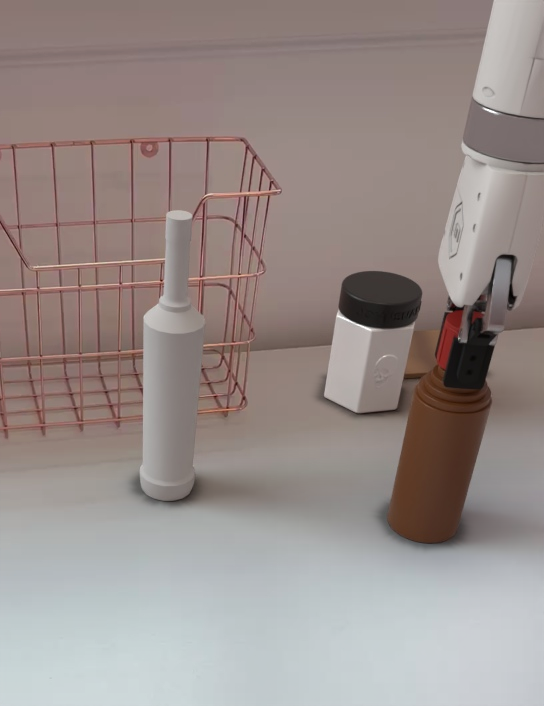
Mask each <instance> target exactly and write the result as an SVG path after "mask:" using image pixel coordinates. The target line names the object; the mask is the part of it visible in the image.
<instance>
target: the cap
mask: <svg viewBox="0 0 544 706" xmlns="http://www.w3.org/2000/svg"><path fill="white" fill-rule="evenodd" d="M450 312H451V313H449V314H448V315H447V316H446V320H445V323H444V325H443V330H442V334H441V338H440V343H439V347H438V351H437V356H436V357H437V364H438V365H439V366H440V367H441V368H443V369H444V370H445V369H446V365H447V361H448V357H449V353H450V349H451V345H452V341H453V337H456V338H458V334H459V329H460V324H461V320H462V315H463V310H459V311H454V312H453V311H450ZM484 314H485V313H484V312H482V313H479V312H475V311H474V314H473V318H472V322H473V321H474V320H475V319H476V318H482V316H484ZM471 324H472V323H471Z"/></svg>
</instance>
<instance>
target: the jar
mask: <svg viewBox="0 0 544 706" xmlns="http://www.w3.org/2000/svg"><path fill="white" fill-rule="evenodd" d="M338 298H339V300H338V310H337V313H336V316H335V321H334V328H333V334H332V341H331V348H330V354H329V361H328V365H327V372H326V373H327V374H326V380H325V386H324V393H323V396H324V398H325V399H327V400H328V401H330V402H333V403H335V404H336V405H339V406H341V407H343V408H345V409H347V410H349V411H351V412H353V413H354V414H355V413H356V414H367V413H376V412H377V413H378V412H386V411H395V410H397V408H398V406H399V401H400V396H401V393H402V388H403V383H404V380H405V379H404V374H405V369H406V364H407V360H408V355H409V350H410V345H411V341H412V336H413V331H415V326H416V321H417V319H418V318H419V317H418V316H419V313H420V311H421V306H422V302H423V301H422V298H423V290H422V287H421V286H420V285H419V284H418V283H417V282H416V281H414V280H413V279H411V278H409V277H406V276H404V275H401V274H398V273H394V272H389V271H382V270H364V271H357V272H354V273H352V274H349V275H347V276H346V277H345V278H344V279H343V280H342V282H341V287H340V293H339V297H338Z"/></svg>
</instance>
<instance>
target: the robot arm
mask: <svg viewBox="0 0 544 706" xmlns="http://www.w3.org/2000/svg"><path fill="white" fill-rule="evenodd" d="M488 19H489V21H488V25H487V28H486V33H485V38H484V43H483V47H482V52H481V56H480V60H479V65H478V69H477V73H476V77H475V82H474V86H473V91H472V95H471V99H470V104H469V108H468V113H467V117H466V121H465V126H464V130H463V135H462V140H461V144H460V150H461V153H463V154H464V155H465V158H464V160H463V162H462V166H461V169H460V173H459V176H458V180H457V183H456V187H455V190H454V194H453V198H452V201H451V204H450V208H449V212H448V215H447V220H446V223H445V227H444V231H443V235H442V239H441V242H440V246H439V250H438V255H437V263H438V268H439V271H440V274H441V277H442V280H443V283H444V285H445V286H444V287H445V289H446V291H447V293H448V296H447V301H446V311H444V314H443V316H442V321H441V326H440V329H439V330H440V334H439V338H438V342H437V346H436V351H435V357H436V356H437V351H438V347H439V343H440V338H441V334H442V330H443V325H444V323H445V320H446V316H447V315H448V314H449V313H451V312H454V311H459V310H463V315H462V320H461V324H460V329H459V334H458V338H456V337H453V341H452V345H451V349H450V353H449V357H448V361H447V365H446V369H445V373H444V377H443V384H444V386H445V387H447V388H461V389H474V390H480V389H482V388H483V386H484V383H485V380H486V379H487V376H488V373H489V368H490V365H491V363H492V362H491V361H492V357H493V353H494V352H495V351H494V350H495V347H496V345H497V343H498V338H499V334H501V333H503V332H504V330H505V327H506V318H507V311H510V312H511V311H514V310H515V309H517V308H518V307H519V306H520V305H521V303H522V300H523V298H524V295H525V292H526V289H527V286H528V283H529V280H530V276H531V272H532V270H533V266H534V262H535V258H536V255H537V251H538V246H539V244H540V239H541V235H542V232H543V231H542V230H543V225H544V0H493V1H492V6H491V12H490V16H489V18H488ZM474 311H475V312H479V313H483V314H484V316H482V318H476V319H475V320H474V321H473V322H472V318H473V314H474ZM471 323H472V324H471ZM436 359H437V357H436ZM486 381H487V380H486Z"/></svg>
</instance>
